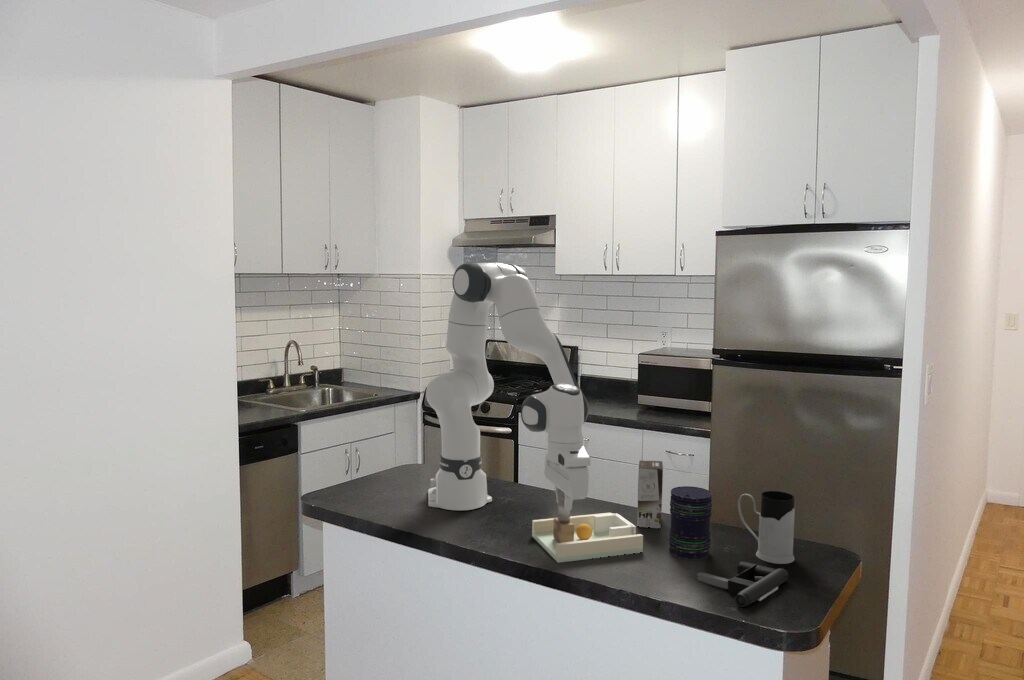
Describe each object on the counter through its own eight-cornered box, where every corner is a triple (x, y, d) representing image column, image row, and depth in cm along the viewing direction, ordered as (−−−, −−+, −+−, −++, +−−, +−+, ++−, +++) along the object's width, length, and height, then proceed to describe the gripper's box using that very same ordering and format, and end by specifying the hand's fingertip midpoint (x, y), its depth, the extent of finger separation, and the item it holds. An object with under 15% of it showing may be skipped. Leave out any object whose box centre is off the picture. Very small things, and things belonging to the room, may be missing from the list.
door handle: (682, 577, 161) (752, 597, 150) (728, 553, 176) (795, 569, 164) (682, 592, 162) (752, 613, 150) (728, 567, 176) (795, 584, 165)
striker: (553, 537, 187) (554, 486, 186) (564, 536, 188) (565, 485, 187) (562, 545, 181) (563, 493, 180) (573, 544, 182) (574, 492, 181)
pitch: (532, 536, 192) (532, 516, 191) (610, 527, 198) (610, 508, 198) (557, 562, 175) (558, 541, 174) (642, 552, 181) (643, 531, 181)
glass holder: (785, 566, 173) (788, 503, 172) (728, 550, 183) (730, 490, 182) (800, 556, 180) (803, 495, 178) (744, 541, 189) (746, 483, 188)
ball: (573, 537, 187) (573, 522, 187) (588, 536, 189) (588, 520, 188) (579, 543, 184) (580, 527, 183) (594, 541, 185) (595, 525, 185)
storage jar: (676, 541, 189) (678, 483, 187) (715, 549, 184) (717, 490, 182) (662, 554, 180) (664, 494, 179) (703, 563, 175) (705, 500, 174)
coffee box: (661, 529, 198) (663, 469, 196) (636, 527, 199) (638, 467, 198) (661, 517, 207) (663, 460, 205) (637, 516, 208) (639, 459, 207)
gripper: (538, 442, 191) (537, 495, 193) (568, 462, 172) (567, 521, 173) (561, 440, 193) (560, 493, 194) (593, 460, 174) (592, 518, 175)
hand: (564, 506), depth 184 cm, fingers closed on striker, 3 cm apart
